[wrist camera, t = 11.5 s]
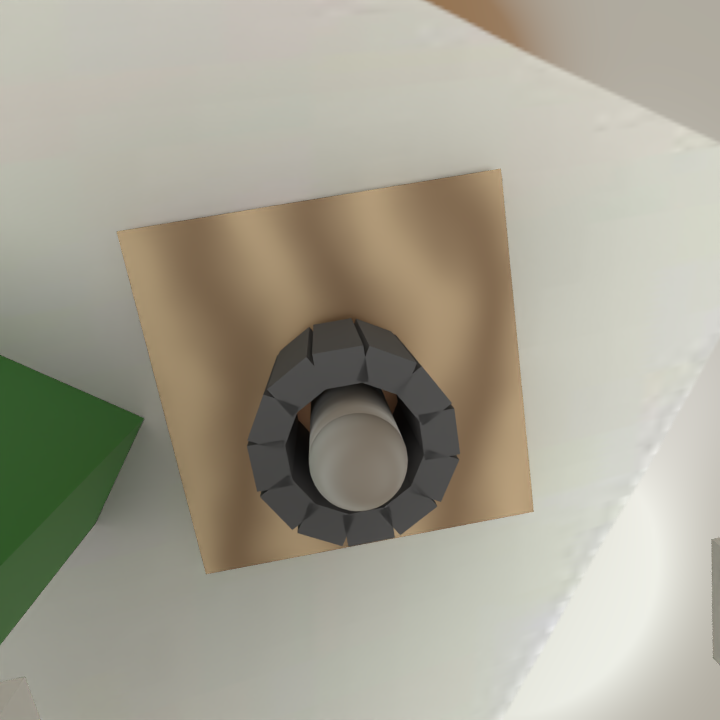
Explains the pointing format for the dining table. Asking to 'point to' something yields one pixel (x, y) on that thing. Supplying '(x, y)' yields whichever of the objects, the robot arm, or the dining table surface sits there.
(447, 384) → the post stand
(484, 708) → the dining table surface
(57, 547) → the hardback book
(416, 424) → the rubber collar
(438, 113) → the dining table surface
